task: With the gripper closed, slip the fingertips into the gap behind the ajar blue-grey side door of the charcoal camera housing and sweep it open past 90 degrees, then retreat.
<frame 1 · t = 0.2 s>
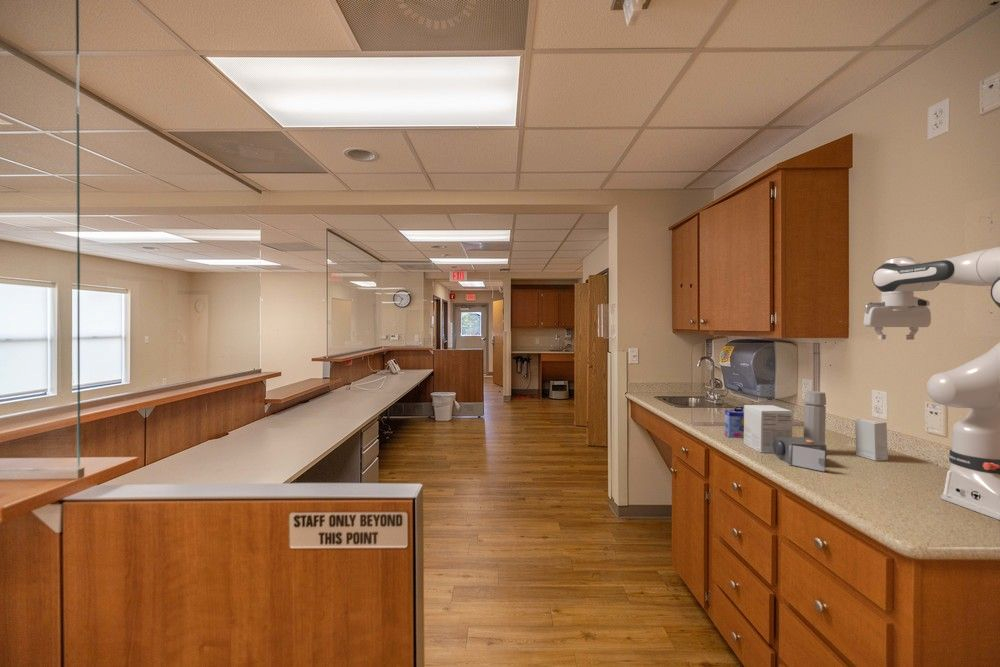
hand: (895, 339, 156), 47 cm above the countertop, fingers open, 8 cm apart
camera housing: (799, 461, 164), on the countertop
skincare box: (870, 458, 169), on the countertop
side door: (806, 457, 155), point 4 cm above the countertop, hinge at 40.0°
supplement box: (766, 449, 180), on the countertop
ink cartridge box: (737, 436, 200), on the countertop
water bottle: (812, 451, 177), on the countertop
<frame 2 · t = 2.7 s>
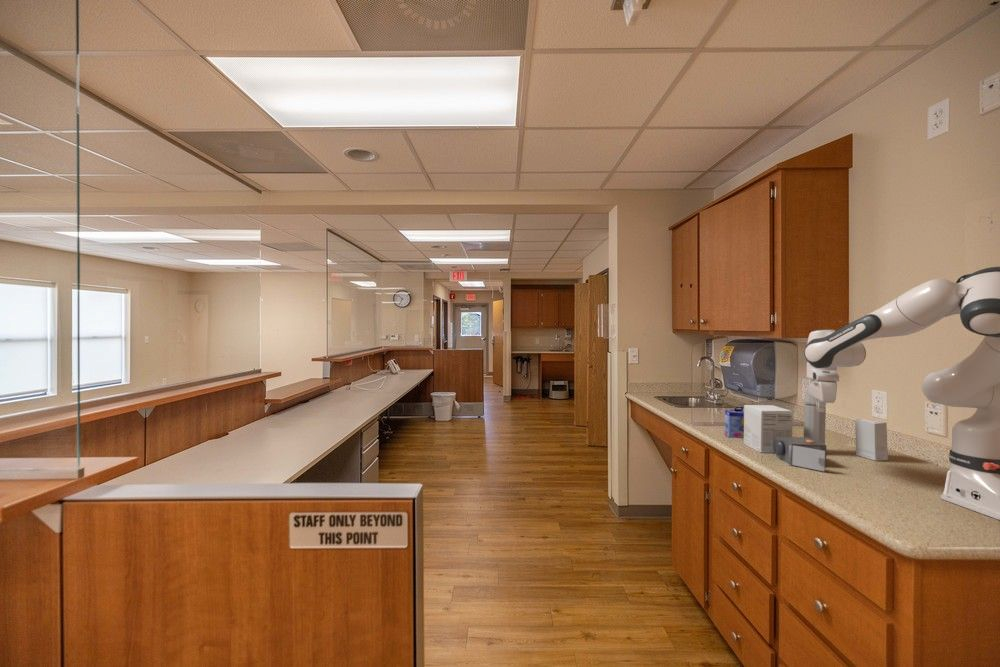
hand: (820, 411, 155), 21 cm above the countertop, fingers closed
nothing on the countertop moved.
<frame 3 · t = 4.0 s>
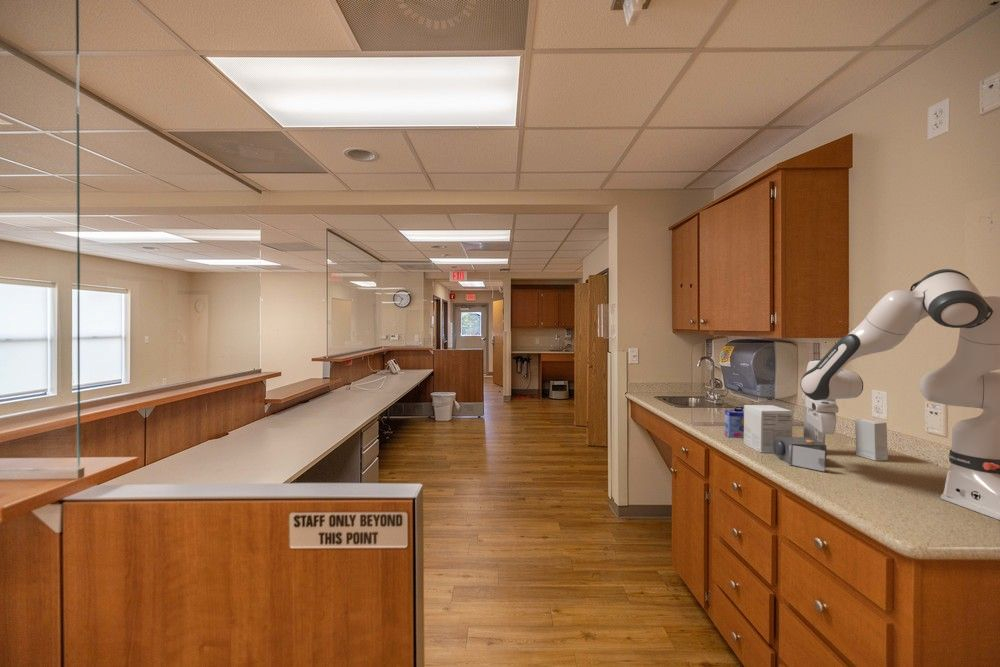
hand: (819, 440, 155), 10 cm above the countertop, fingers closed
nothing on the countertop moved.
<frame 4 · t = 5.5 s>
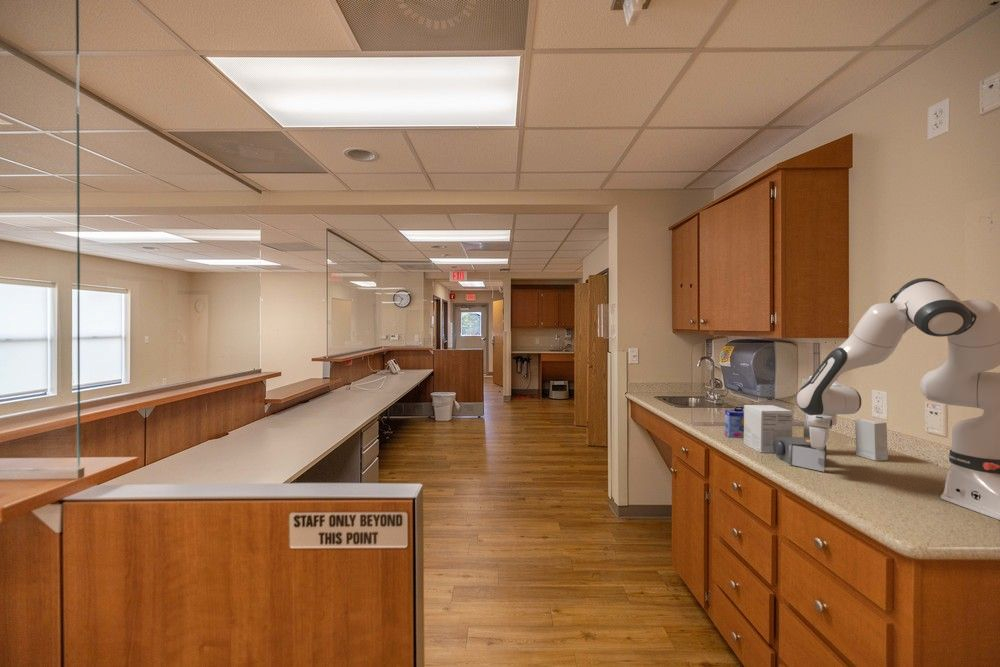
hand: (820, 455, 154), 5 cm above the countertop, fingers closed
side door: (806, 457, 155), point 4 cm above the countertop, hinge at 41.7°, touching gripper
everything else where it was.
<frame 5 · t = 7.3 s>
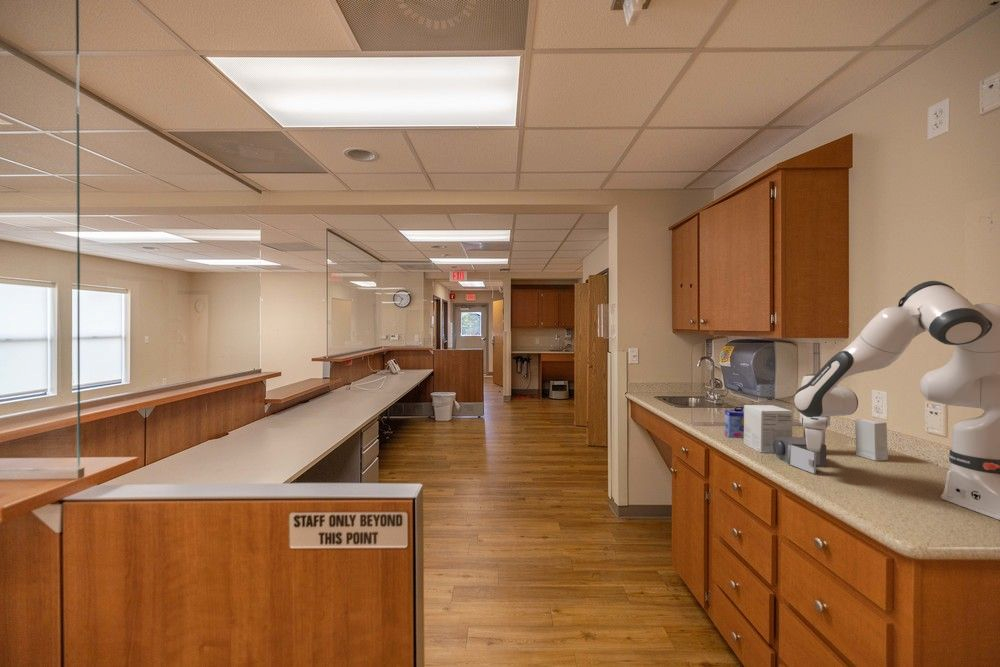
hand: (813, 457, 151), 5 cm above the countertop, fingers closed
side door: (800, 458, 154), point 4 cm above the countertop, hinge at 73.5°, touching gripper
everything else where it was.
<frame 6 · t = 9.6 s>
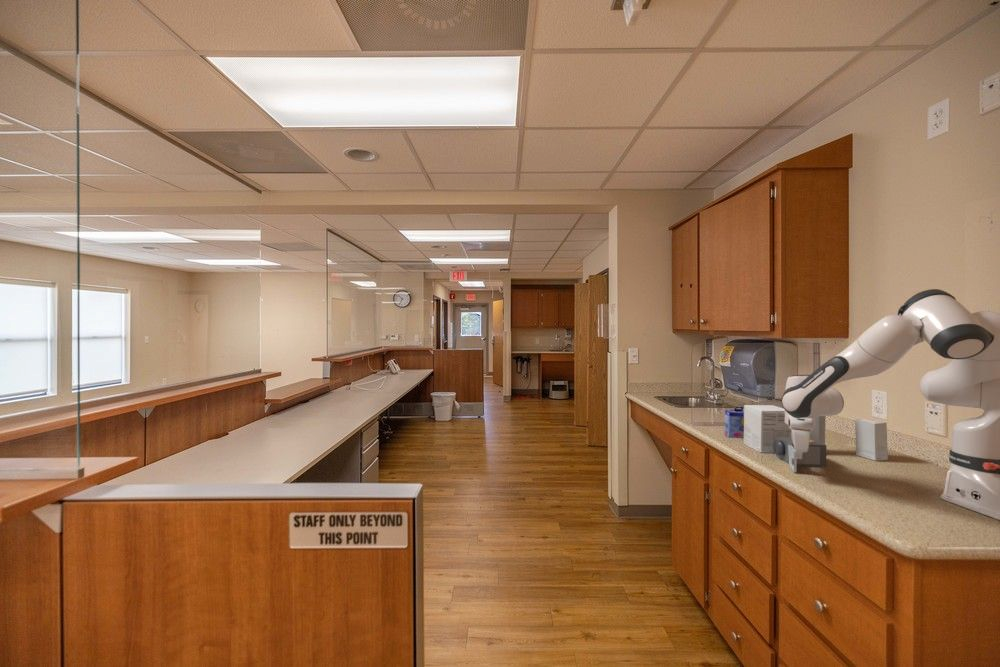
hand: (798, 458, 151), 5 cm above the countertop, fingers closed
side door: (791, 457, 155), point 4 cm above the countertop, hinge at 109.5°, touching gripper
everything else where it was.
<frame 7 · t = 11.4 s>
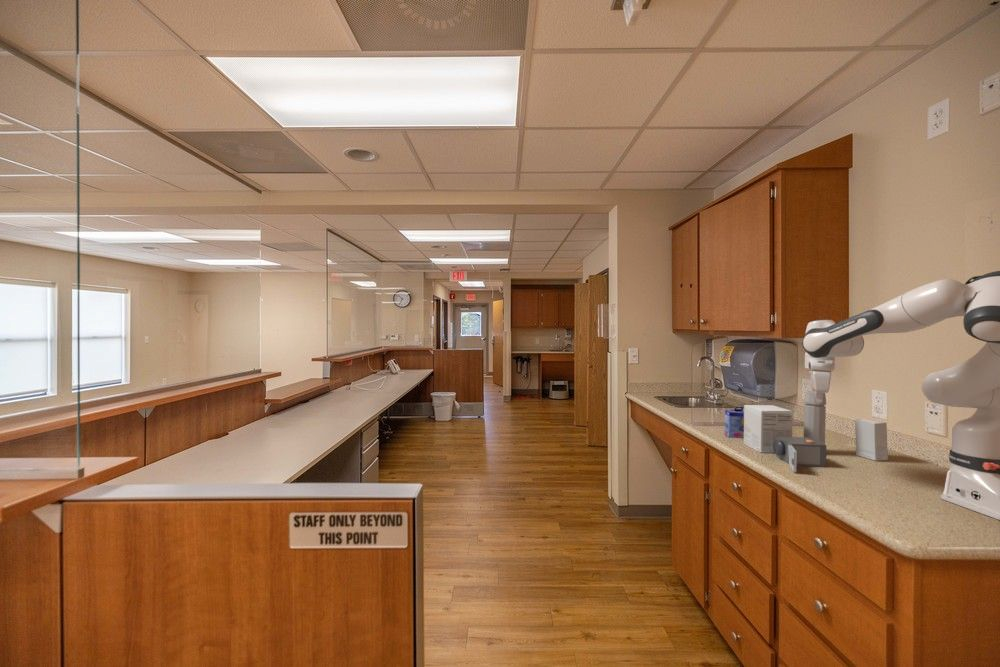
hand: (818, 401, 155), 25 cm above the countertop, fingers closed
side door: (791, 457, 155), point 4 cm above the countertop, hinge at 109.6°
everything else where it was.
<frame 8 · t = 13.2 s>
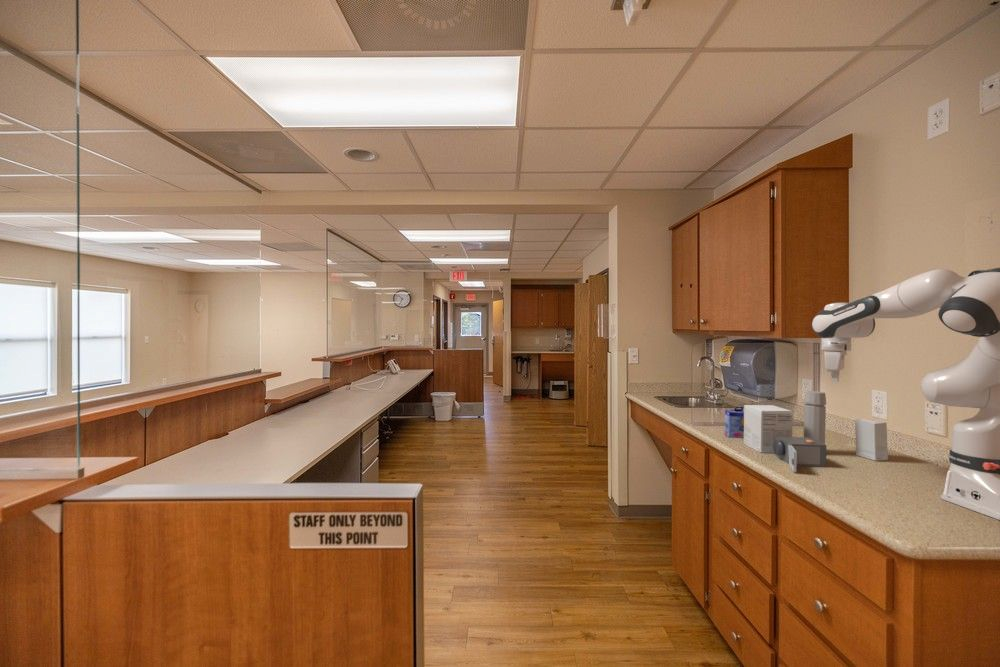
hand: (835, 382, 160), 31 cm above the countertop, fingers closed
nothing on the countertop moved.
at the end: side door at +110° (first picture: +40°); side door touching nothing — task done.
